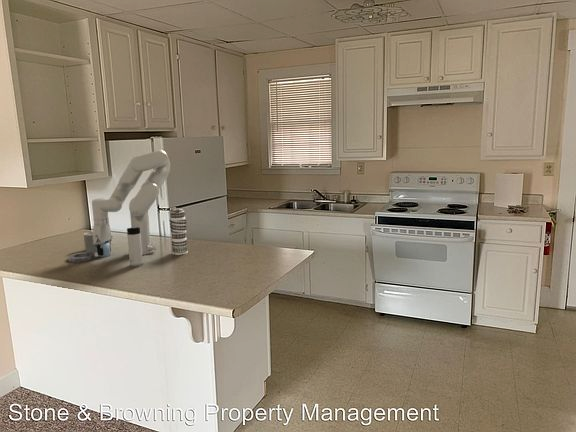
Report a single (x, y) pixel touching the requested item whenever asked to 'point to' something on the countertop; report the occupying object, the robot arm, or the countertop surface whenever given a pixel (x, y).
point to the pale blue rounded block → (105, 250)
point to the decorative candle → (178, 231)
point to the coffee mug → (89, 242)
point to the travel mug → (135, 247)
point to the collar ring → (81, 257)
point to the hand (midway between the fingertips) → (104, 253)
